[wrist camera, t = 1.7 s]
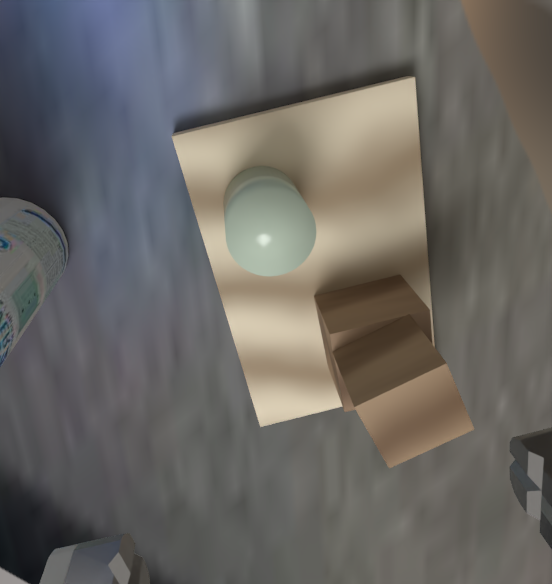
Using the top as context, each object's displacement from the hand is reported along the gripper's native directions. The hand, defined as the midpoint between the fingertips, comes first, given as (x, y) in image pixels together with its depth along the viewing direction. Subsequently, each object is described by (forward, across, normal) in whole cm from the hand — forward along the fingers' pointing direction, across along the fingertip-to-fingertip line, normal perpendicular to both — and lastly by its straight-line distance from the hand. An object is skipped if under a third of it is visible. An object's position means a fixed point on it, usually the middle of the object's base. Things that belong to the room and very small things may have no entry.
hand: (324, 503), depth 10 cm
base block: (+22, -6, +9) cm, 24 cm away
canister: (+22, -1, -1) cm, 22 cm away
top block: (+17, -6, +10) cm, 20 cm away
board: (+23, -4, +5) cm, 24 cm away
